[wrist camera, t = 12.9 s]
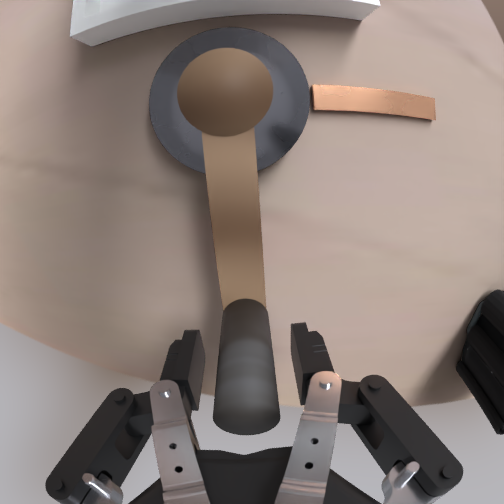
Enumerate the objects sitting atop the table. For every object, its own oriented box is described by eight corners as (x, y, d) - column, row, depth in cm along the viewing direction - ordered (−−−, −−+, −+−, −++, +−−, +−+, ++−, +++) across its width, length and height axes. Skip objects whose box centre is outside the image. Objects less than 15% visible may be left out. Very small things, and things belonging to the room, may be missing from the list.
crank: (185, 66, 13) (115, -4, 4) (265, 58, 13) (291, -29, 4) (214, 313, 19) (197, 435, 10) (280, 308, 19) (301, 430, 10)
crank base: (153, 47, 14) (145, 41, 12) (426, 52, 14) (437, 48, 12) (164, 180, 17) (157, 184, 16) (432, 170, 17) (444, 173, 16)
